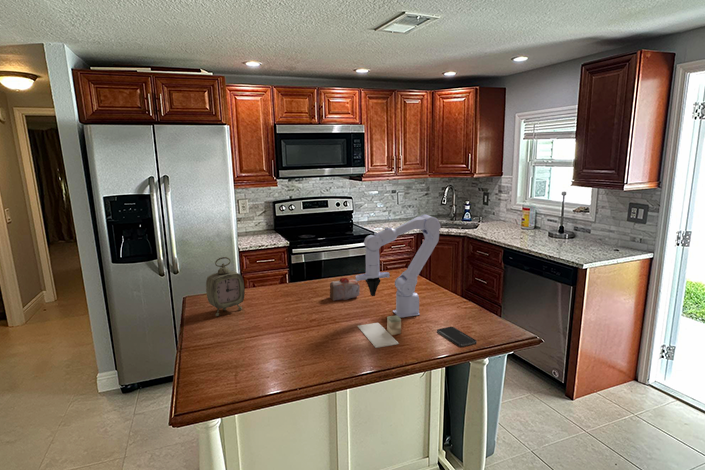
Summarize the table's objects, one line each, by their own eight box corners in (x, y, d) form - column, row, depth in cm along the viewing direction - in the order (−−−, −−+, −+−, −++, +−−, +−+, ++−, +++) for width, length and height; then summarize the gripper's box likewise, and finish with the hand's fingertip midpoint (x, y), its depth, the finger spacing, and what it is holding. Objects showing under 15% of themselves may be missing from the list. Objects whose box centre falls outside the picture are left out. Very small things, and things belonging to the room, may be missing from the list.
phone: (460, 345, 145) (435, 329, 158) (460, 348, 145) (435, 332, 158) (478, 341, 148) (452, 326, 161) (478, 344, 148) (452, 328, 161)
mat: (378, 323, 167) (378, 322, 167) (398, 344, 148) (398, 343, 148) (357, 326, 164) (357, 325, 164) (375, 347, 145) (375, 346, 145)
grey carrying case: (354, 293, 204) (354, 274, 203) (360, 298, 197) (360, 278, 195) (328, 297, 200) (328, 277, 198) (333, 302, 192) (333, 282, 191)
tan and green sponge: (396, 329, 161) (396, 315, 159) (400, 333, 157) (401, 318, 156) (387, 331, 159) (387, 316, 158) (391, 335, 156) (391, 320, 155)
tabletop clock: (214, 318, 175) (210, 261, 170) (206, 313, 181) (201, 258, 177) (246, 310, 184) (242, 256, 179) (237, 305, 191) (233, 252, 186)
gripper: (385, 260, 176) (385, 290, 178) (352, 263, 171) (353, 294, 174) (391, 264, 169) (391, 295, 172) (358, 267, 165) (358, 299, 167)
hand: (372, 295), depth 172 cm, fingers closed
